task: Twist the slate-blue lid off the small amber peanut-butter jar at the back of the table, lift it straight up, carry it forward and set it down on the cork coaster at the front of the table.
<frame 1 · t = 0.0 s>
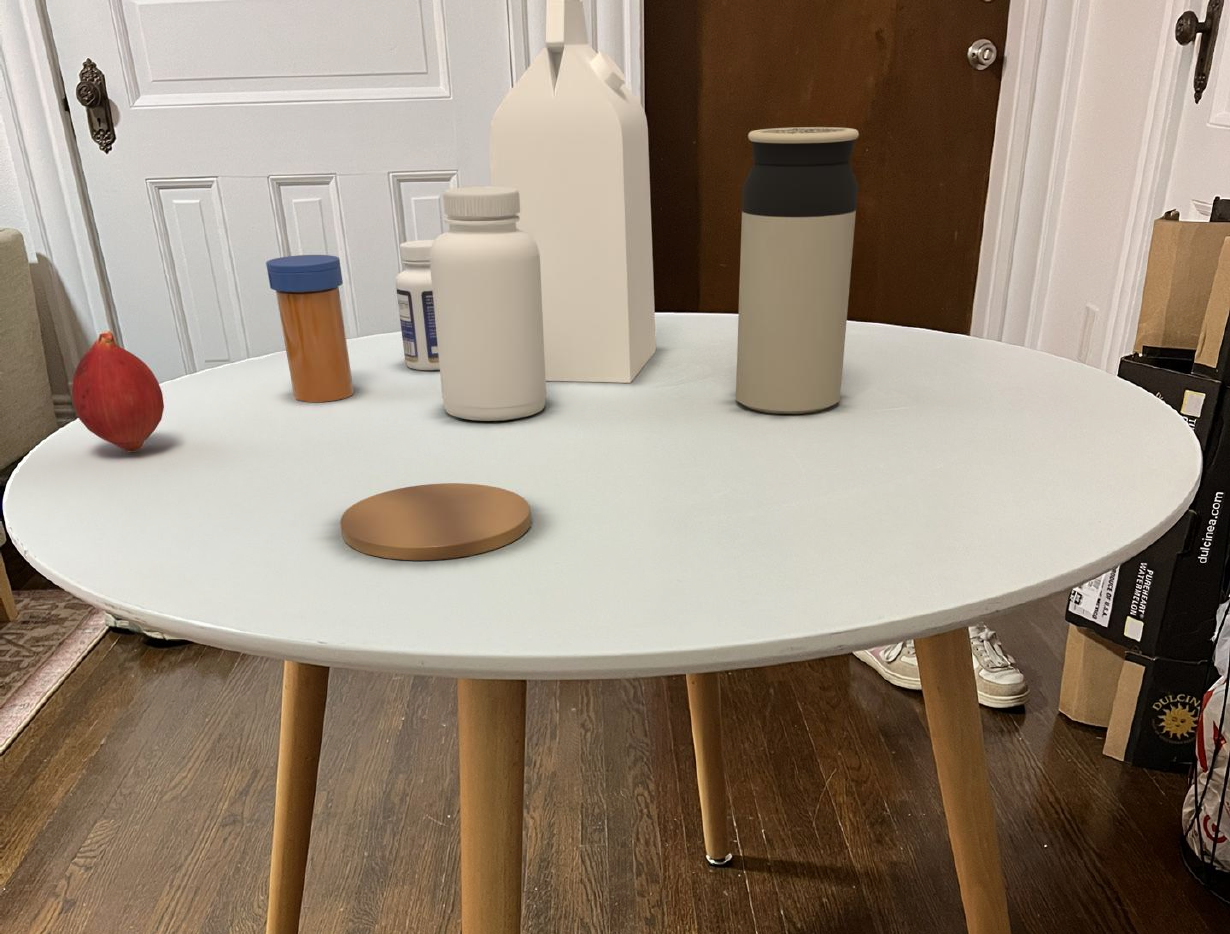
jar: (324, 394, 94), on the table
pill bottle 2: (496, 412, 89), on the table
onion: (132, 454, 82), on the table
coaster: (437, 526, 67), on the table
lid: (303, 267, 89), point 9 cm above the table, screwed on, not yet turned
travel mug: (787, 404, 89), on the table
pill bottle: (436, 366, 102), on the table
milk: (579, 366, 101), on the table
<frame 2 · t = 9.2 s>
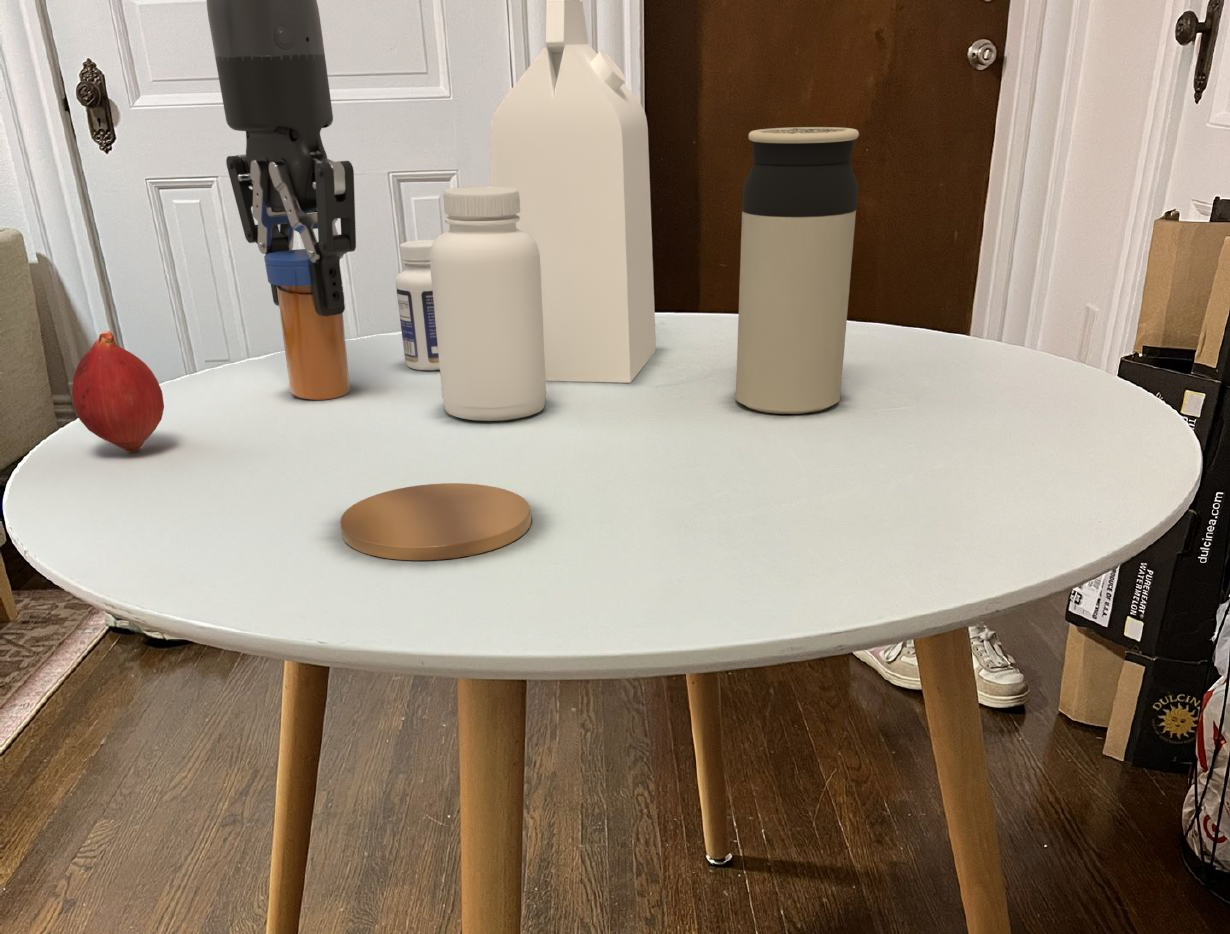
hand: (309, 308, 90), 7 cm above the table, tool pointing down, fingers closed on lid, 5 cm apart
jar: (320, 389, 94), on the table, tilted 7°
lid: (302, 261, 88), point 10 cm above the table, off its thread, touching gripper
everything else where it was.
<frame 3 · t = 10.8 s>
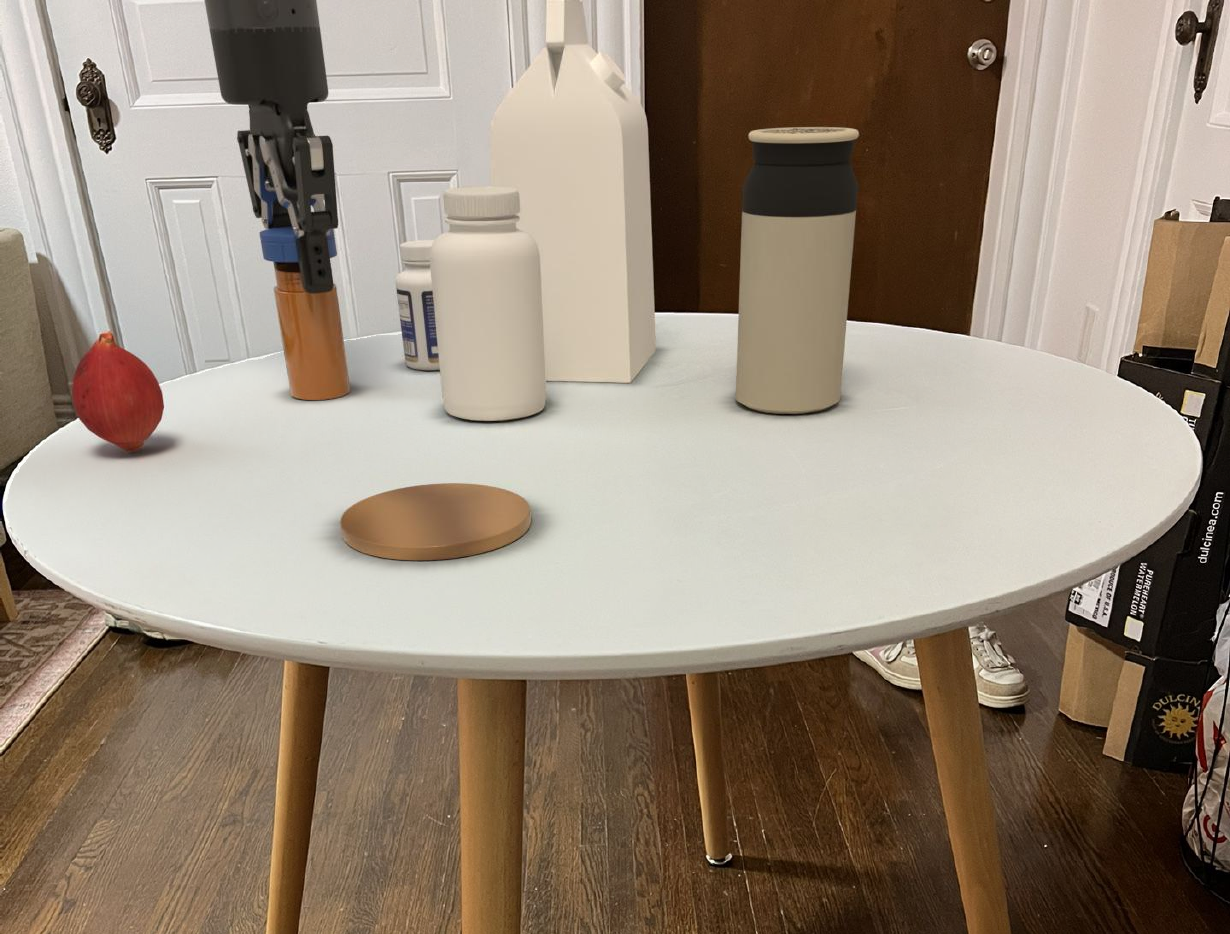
hand: (304, 285, 90), 8 cm above the table, tool pointing down, fingers closed on lid, 5 cm apart
lid: (297, 237, 88), point 12 cm above the table, off its thread, touching gripper
everything else where it was.
when the fingers open (1 cm above the table, at t = 18.8 s): lid drops 3 cm, resting on coaster.
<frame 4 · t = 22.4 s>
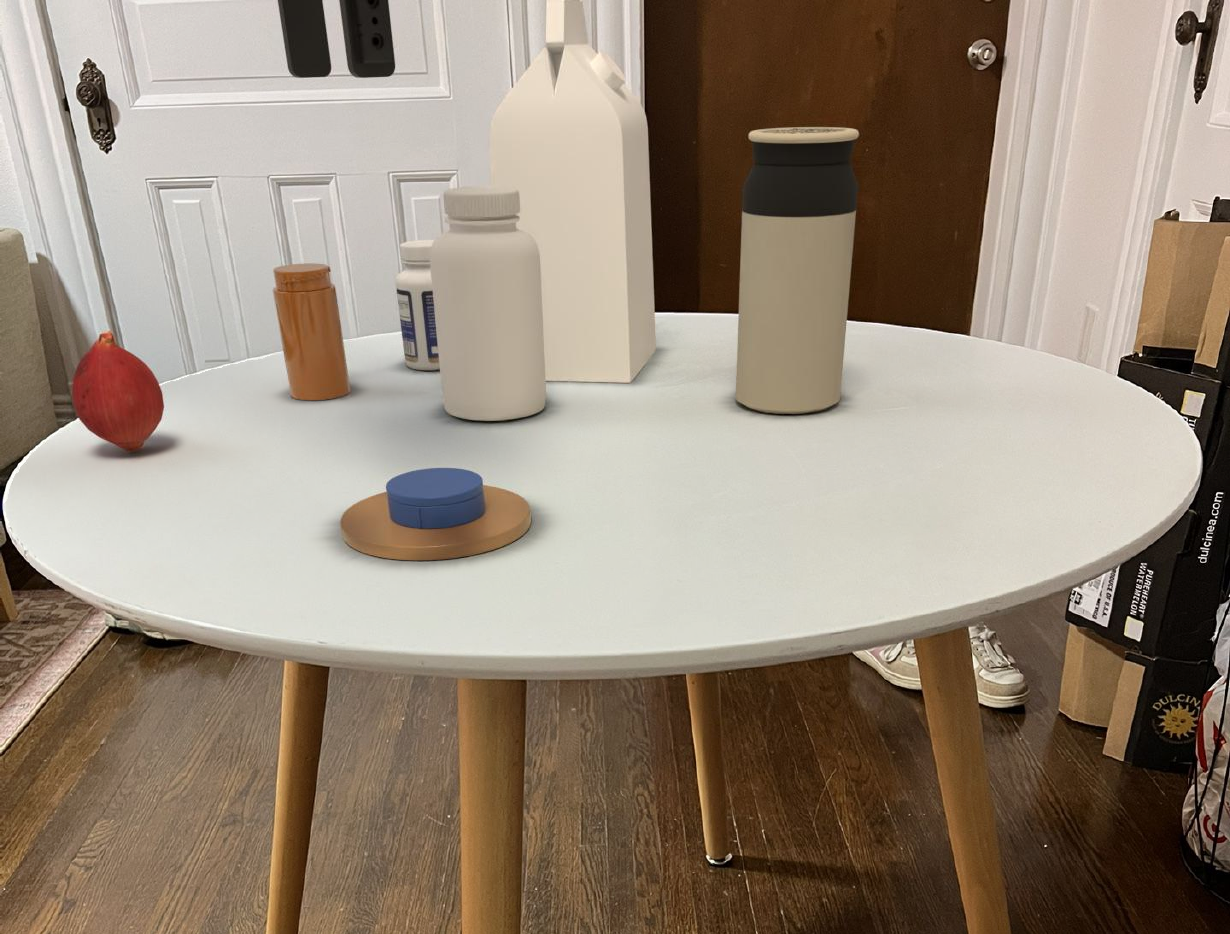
hand: (340, 77, 59), 22 cm above the table, tool pointing down, fingers open, 8 cm apart
lid: (435, 490, 66), point 2 cm above the table, off its thread, touching coaster
everything else where it was.
at the end: lid came off its thread; lid point 2.1 cm above the table; the gripper is holding nothing; lid inside the target area on the coaster (0.1 cm from its centre), point 2.1 cm above the coaster's base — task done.
